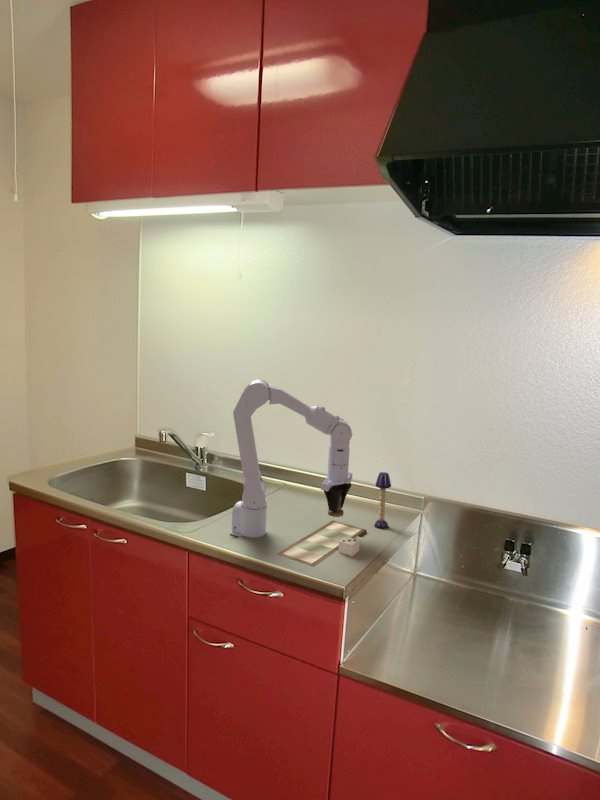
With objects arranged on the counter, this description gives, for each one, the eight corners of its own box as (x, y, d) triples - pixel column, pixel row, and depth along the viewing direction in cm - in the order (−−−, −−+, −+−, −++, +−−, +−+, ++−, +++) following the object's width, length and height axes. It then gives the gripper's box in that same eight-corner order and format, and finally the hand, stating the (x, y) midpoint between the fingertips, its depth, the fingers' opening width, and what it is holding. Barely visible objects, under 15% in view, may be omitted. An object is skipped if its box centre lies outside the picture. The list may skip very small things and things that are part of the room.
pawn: (325, 514, 147) (326, 492, 146) (332, 510, 151) (333, 488, 150) (338, 518, 145) (340, 496, 144) (346, 513, 149) (347, 492, 148)
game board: (276, 556, 135) (276, 553, 135) (332, 522, 160) (332, 520, 160) (313, 569, 129) (313, 566, 129) (366, 532, 154) (366, 529, 154)
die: (338, 555, 138) (339, 540, 137) (345, 550, 141) (346, 536, 141) (351, 559, 136) (352, 544, 135) (358, 554, 139) (359, 539, 139)
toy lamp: (370, 526, 158) (374, 473, 156) (375, 521, 162) (379, 470, 160) (385, 530, 156) (389, 476, 154) (390, 525, 160) (394, 472, 158)
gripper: (338, 471, 138) (335, 520, 140) (362, 460, 150) (359, 505, 152) (315, 466, 141) (313, 513, 143) (341, 456, 154) (338, 500, 156)
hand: (335, 509), depth 148 cm, fingers closed on pawn, 3 cm apart
